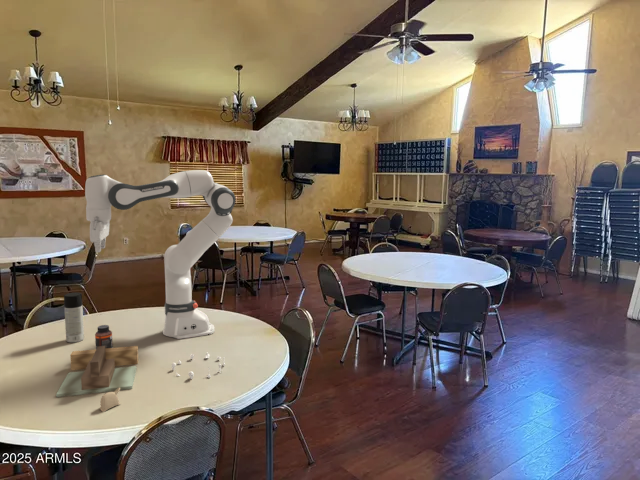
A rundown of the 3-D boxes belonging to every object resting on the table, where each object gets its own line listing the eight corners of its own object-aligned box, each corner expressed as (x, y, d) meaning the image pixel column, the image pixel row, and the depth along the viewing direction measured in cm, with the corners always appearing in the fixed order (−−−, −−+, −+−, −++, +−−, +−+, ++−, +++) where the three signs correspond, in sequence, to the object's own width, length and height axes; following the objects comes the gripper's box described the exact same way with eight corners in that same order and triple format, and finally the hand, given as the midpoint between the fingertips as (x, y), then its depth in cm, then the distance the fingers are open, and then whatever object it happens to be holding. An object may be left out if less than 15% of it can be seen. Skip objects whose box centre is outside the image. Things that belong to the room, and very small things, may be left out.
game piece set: (207, 385, 149) (207, 374, 149) (159, 374, 156) (159, 364, 156) (237, 363, 167) (237, 353, 167) (193, 354, 174) (192, 345, 174)
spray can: (87, 337, 188) (85, 292, 186) (77, 343, 182) (75, 296, 179) (73, 336, 189) (70, 291, 186) (62, 342, 182) (59, 295, 180)
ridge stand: (136, 368, 160) (135, 342, 158) (132, 388, 145) (131, 359, 143) (68, 375, 153) (66, 348, 152) (56, 397, 138) (54, 367, 137)
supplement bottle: (116, 353, 173) (115, 325, 172) (103, 358, 168) (102, 329, 166) (105, 350, 176) (104, 323, 174) (92, 355, 170) (91, 327, 169)
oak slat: (138, 360, 167) (137, 345, 166) (137, 364, 164) (137, 349, 163) (73, 367, 160) (72, 351, 160) (71, 371, 157) (70, 355, 156)
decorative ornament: (96, 408, 132) (96, 394, 131) (118, 399, 138) (118, 386, 137) (102, 412, 130) (102, 398, 129) (124, 403, 136) (124, 389, 135)
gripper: (103, 218, 165) (104, 254, 167) (111, 213, 184) (113, 246, 186) (84, 218, 163) (86, 254, 165) (95, 213, 183) (96, 246, 184)
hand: (100, 250), depth 176 cm, fingers open, 8 cm apart
